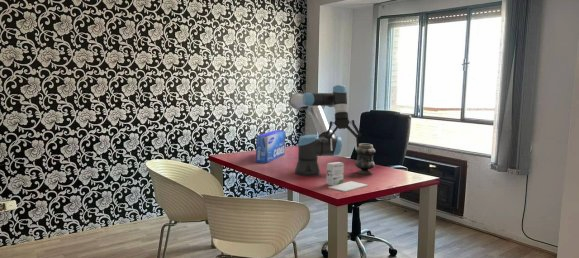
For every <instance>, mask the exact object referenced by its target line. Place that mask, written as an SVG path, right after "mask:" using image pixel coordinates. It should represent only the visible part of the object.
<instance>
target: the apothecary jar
mask: <svg viewBox="0 0 579 258" xmlns="http://www.w3.org/2000/svg"><path fill="white" fill-rule="evenodd" d="M355 152H356V153H357V157H356V160H355V162H354V165H355V166H356V168H358V169H359V170H357V171H356V174H357V175H364V176H365V175H366V176H369V175H373V172H372V171H371V169H374V168H375V166H376V164H375V162H374V154H375V153H376V149H375V148H374V145H373V144H371V143H366V142H365V143H364V142H363V143H358V146H357V149H355Z"/></svg>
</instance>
